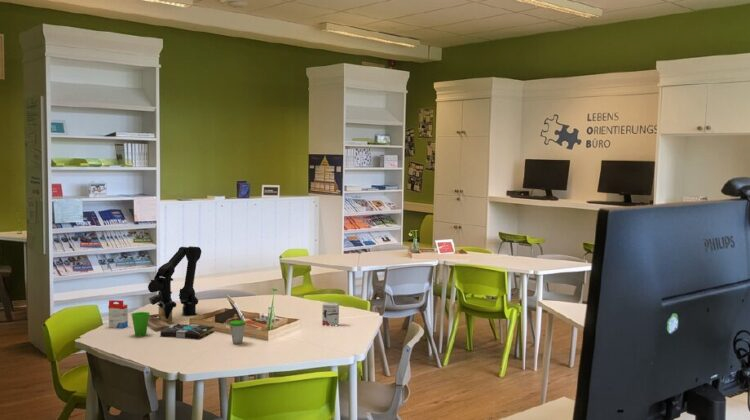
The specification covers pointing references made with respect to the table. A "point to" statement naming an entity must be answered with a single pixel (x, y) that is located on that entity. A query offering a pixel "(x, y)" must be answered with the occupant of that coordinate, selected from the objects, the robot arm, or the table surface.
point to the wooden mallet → (162, 315)
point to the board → (157, 324)
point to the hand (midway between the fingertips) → (165, 317)
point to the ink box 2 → (330, 314)
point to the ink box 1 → (118, 314)
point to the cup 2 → (237, 330)
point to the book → (187, 331)
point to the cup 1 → (140, 322)
